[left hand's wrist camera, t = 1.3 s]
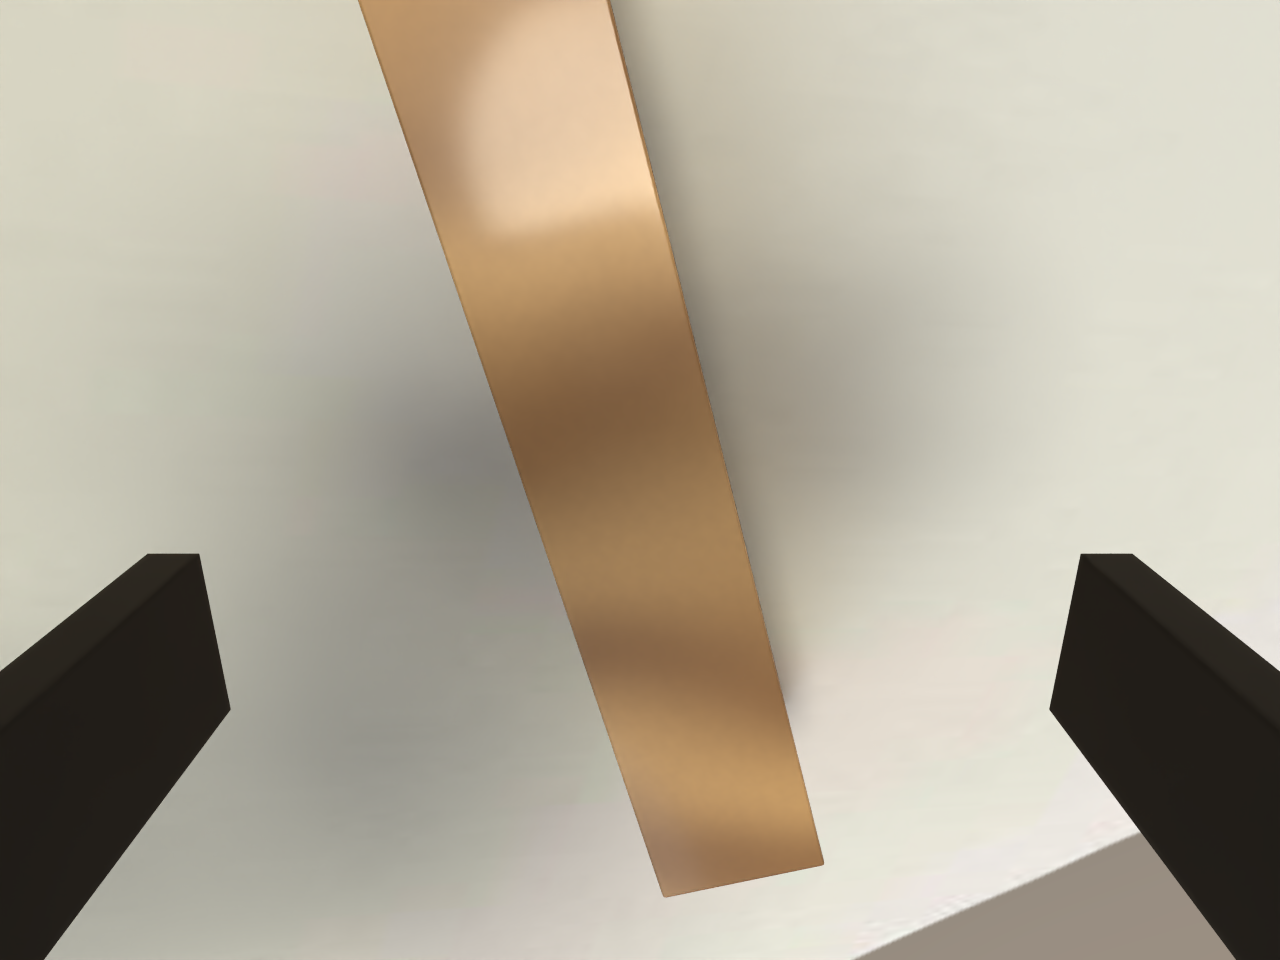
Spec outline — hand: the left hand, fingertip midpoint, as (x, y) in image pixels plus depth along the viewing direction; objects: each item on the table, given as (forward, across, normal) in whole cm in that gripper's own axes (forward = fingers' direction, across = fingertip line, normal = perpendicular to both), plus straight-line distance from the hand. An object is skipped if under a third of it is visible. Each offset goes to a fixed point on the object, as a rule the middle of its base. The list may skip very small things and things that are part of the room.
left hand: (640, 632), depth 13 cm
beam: (+18, +5, -17) cm, 26 cm away
